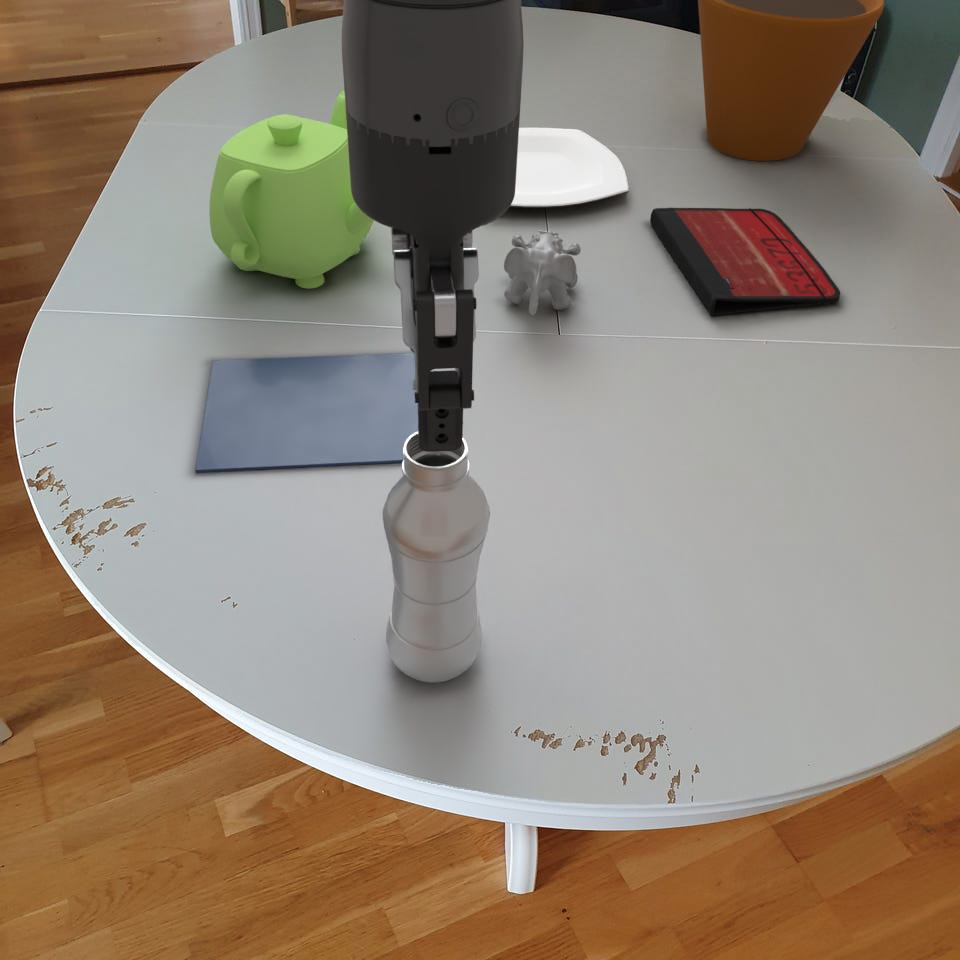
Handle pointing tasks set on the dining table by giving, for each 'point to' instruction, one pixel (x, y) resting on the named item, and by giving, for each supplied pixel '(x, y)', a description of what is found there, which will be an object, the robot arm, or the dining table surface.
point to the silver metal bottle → (435, 563)
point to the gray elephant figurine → (541, 269)
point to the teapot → (287, 198)
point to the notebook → (742, 259)
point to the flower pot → (775, 68)
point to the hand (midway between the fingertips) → (434, 395)
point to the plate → (564, 169)
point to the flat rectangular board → (308, 412)
